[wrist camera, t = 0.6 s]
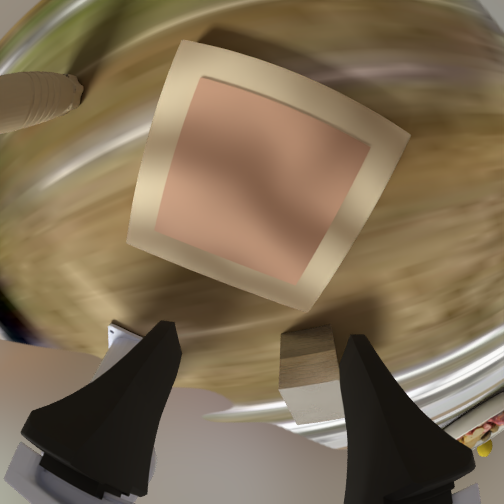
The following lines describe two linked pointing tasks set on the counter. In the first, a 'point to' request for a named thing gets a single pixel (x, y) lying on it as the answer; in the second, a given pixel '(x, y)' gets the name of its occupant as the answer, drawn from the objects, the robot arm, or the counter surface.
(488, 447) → the lemon
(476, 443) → the bowl
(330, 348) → the block
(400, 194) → the counter surface
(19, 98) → the handle
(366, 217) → the stand
